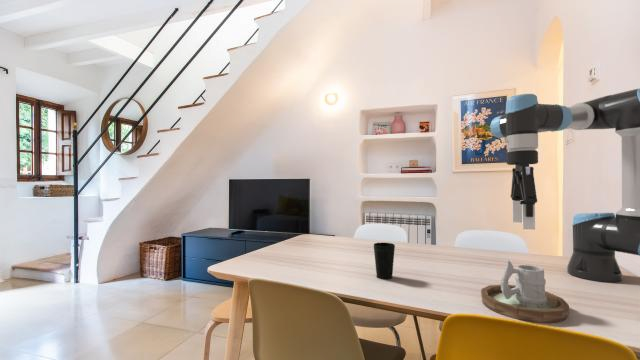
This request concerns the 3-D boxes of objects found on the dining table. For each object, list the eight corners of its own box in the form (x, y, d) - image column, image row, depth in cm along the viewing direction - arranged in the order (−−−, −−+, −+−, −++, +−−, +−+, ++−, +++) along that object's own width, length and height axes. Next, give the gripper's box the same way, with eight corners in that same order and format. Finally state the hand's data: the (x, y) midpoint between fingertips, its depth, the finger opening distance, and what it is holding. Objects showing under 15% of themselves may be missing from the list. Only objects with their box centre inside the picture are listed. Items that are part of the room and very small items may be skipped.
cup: (397, 275, 118) (396, 243, 118) (392, 281, 111) (392, 247, 111) (376, 273, 121) (376, 241, 121) (371, 278, 114) (371, 245, 114)
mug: (554, 308, 84) (553, 263, 84) (509, 308, 84) (508, 263, 84) (535, 298, 91) (534, 256, 91) (493, 298, 92) (493, 256, 92)
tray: (554, 299, 94) (554, 289, 94) (579, 328, 75) (579, 316, 75) (479, 290, 101) (479, 281, 101) (485, 315, 83) (485, 304, 83)
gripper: (499, 154, 102) (500, 219, 102) (515, 147, 79) (516, 231, 79) (527, 153, 99) (528, 220, 99) (551, 145, 76) (552, 233, 76)
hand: (522, 225), depth 89 cm, fingers open, 13 cm apart
